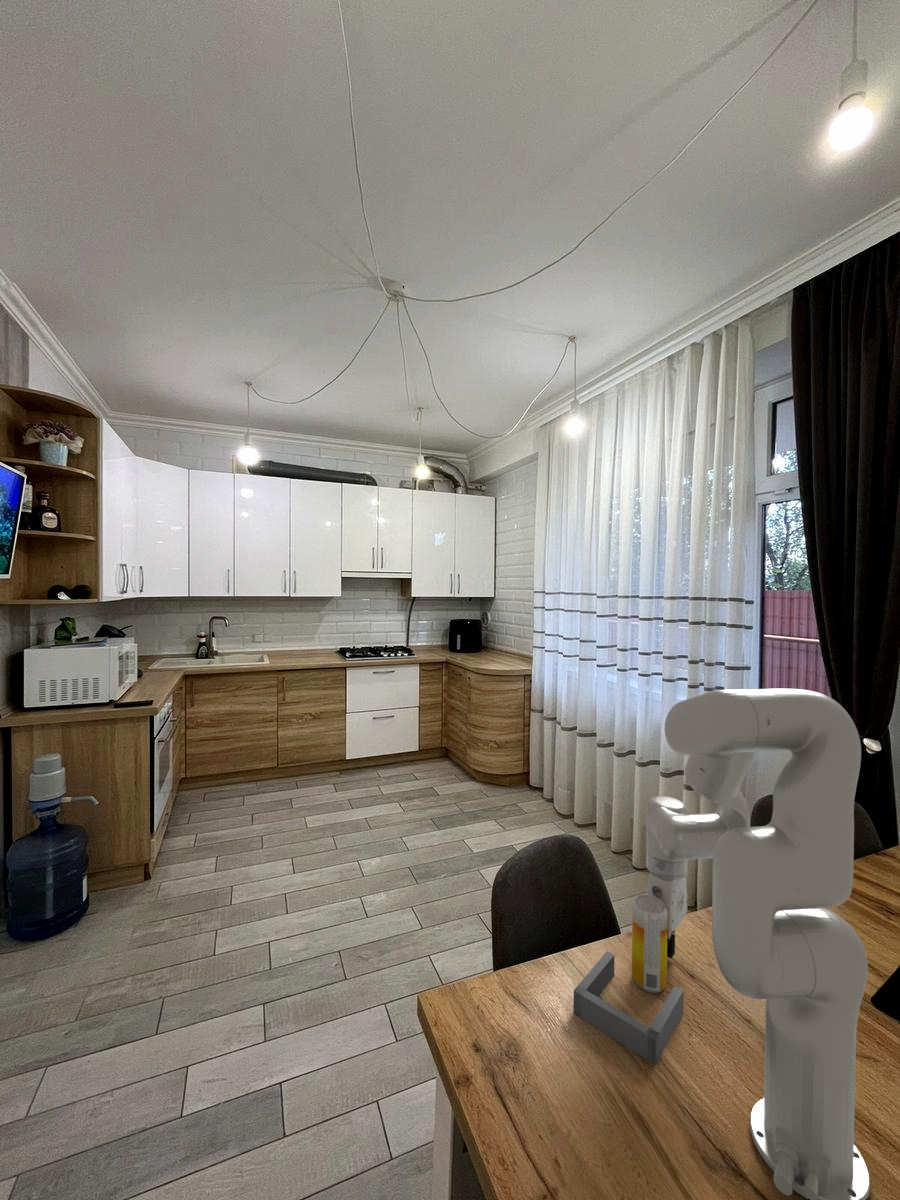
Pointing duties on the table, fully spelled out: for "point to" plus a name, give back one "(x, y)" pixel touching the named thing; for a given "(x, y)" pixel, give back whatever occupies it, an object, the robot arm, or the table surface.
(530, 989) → the table surface
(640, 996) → the table surface
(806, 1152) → the robot arm
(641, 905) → the beer can
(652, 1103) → the table surface
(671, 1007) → the corral
